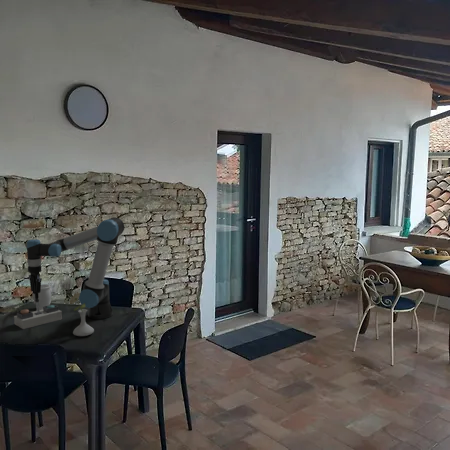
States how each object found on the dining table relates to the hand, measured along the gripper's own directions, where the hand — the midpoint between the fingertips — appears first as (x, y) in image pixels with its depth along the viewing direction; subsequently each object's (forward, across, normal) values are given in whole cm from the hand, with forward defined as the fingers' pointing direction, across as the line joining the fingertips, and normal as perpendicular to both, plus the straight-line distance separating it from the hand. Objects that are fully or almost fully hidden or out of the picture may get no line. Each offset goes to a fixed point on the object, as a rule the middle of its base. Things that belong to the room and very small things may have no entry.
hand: (36, 303), depth 285 cm
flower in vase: (+10, +41, +7) cm, 43 cm away
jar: (+12, -21, +14) cm, 27 cm away
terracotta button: (+4, +2, -8) cm, 9 cm away
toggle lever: (+5, +2, 0) cm, 5 cm away
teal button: (+5, +2, +8) cm, 10 cm away
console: (+11, +2, 0) cm, 11 cm away
